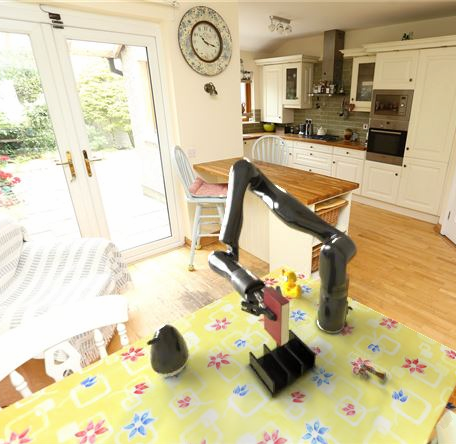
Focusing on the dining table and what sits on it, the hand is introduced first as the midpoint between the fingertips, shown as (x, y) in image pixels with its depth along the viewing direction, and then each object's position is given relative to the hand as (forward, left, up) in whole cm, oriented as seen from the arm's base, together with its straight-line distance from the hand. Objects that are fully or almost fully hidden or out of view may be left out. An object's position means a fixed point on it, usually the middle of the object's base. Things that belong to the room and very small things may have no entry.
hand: (280, 315), depth 77 cm
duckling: (-24, -25, -20) cm, 40 cm away
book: (0, -2, -8) cm, 9 cm away
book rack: (-1, 0, -19) cm, 20 cm away
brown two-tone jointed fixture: (-19, +18, -20) cm, 33 cm away
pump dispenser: (+25, -19, -20) cm, 37 cm away
